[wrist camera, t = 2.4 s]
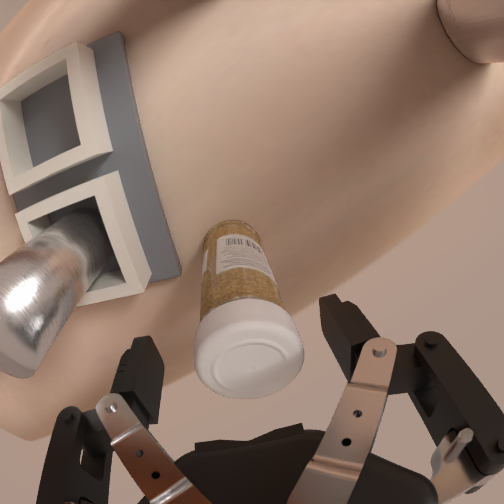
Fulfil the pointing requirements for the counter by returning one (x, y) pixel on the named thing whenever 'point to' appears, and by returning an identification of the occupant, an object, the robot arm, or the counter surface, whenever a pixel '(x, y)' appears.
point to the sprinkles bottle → (243, 319)
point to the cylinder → (47, 286)
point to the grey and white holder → (86, 161)
